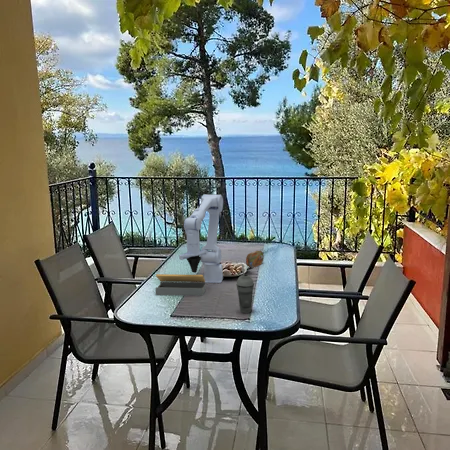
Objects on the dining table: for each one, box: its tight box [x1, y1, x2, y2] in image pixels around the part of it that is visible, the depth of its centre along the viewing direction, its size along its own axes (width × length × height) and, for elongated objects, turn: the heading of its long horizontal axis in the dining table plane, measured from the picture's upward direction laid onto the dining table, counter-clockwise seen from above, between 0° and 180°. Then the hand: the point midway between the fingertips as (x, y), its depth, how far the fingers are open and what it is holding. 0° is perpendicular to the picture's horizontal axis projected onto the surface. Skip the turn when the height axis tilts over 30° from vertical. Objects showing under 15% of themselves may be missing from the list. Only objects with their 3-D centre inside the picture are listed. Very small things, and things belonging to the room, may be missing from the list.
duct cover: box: [155, 273, 205, 283], centre depth 202 cm, size 22×9×1 cm
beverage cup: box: [236, 263, 255, 314], centre depth 175 cm, size 7×7×20 cm
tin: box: [245, 250, 265, 269], centre depth 243 cm, size 15×3×8 cm, turn 143°
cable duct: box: [155, 281, 206, 297], centre depth 202 cm, size 22×9×4 cm, turn 84°
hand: (194, 272), depth 198 cm, fingers closed
